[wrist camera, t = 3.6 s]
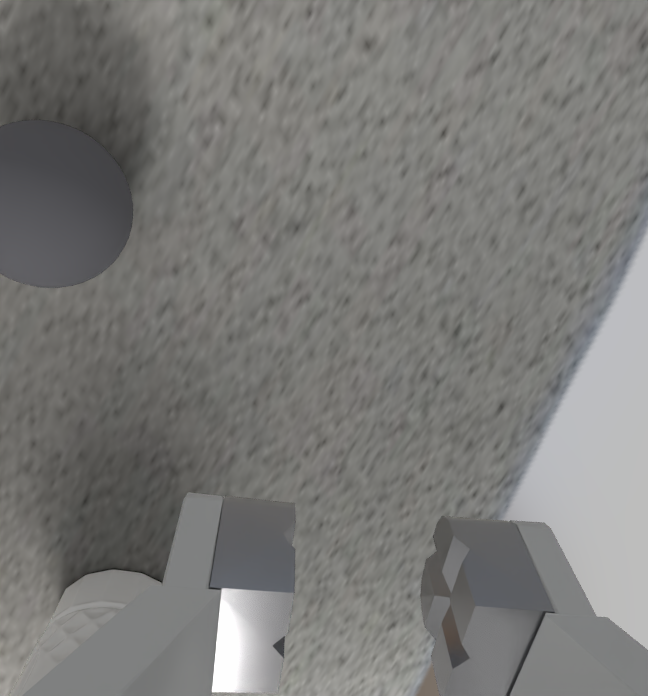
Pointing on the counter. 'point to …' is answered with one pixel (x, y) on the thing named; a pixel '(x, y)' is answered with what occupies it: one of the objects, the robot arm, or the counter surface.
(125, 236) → the dark gray ball
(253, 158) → the counter surface
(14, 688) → the white cup
